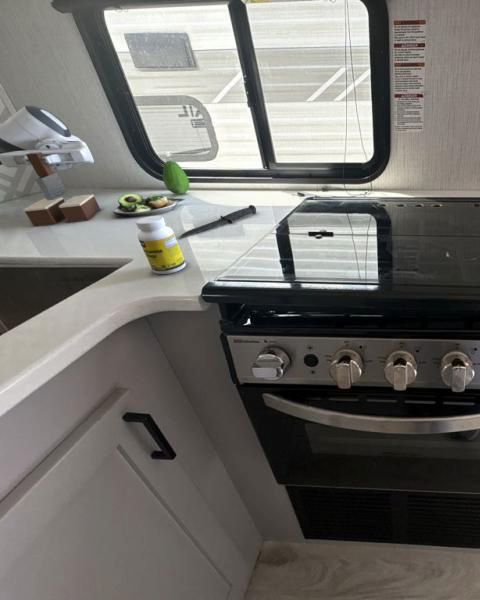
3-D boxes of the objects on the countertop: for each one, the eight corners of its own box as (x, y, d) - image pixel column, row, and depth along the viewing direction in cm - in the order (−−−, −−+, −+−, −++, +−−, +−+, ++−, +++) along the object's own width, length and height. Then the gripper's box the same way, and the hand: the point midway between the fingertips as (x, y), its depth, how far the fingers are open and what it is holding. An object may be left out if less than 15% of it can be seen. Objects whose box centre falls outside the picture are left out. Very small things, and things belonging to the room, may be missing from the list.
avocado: (185, 196, 122) (173, 162, 116) (164, 196, 123) (151, 162, 116) (197, 191, 129) (186, 158, 123) (177, 191, 129) (165, 158, 123)
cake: (88, 220, 101) (79, 203, 98) (33, 226, 96) (23, 209, 94) (100, 209, 110) (93, 194, 107) (51, 214, 106) (42, 199, 103)
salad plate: (189, 198, 120) (184, 185, 118) (183, 212, 106) (178, 197, 104) (126, 205, 114) (119, 191, 111) (111, 220, 100) (103, 205, 97)
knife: (250, 209, 105) (251, 202, 103) (260, 218, 104) (261, 212, 102) (170, 231, 88) (169, 224, 86) (180, 243, 87) (180, 236, 85)
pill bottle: (146, 274, 70) (122, 223, 64) (169, 261, 75) (149, 213, 69) (171, 276, 68) (149, 225, 63) (193, 263, 74) (174, 215, 68)
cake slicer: (55, 199, 96) (30, 155, 90) (45, 200, 95) (19, 156, 89) (69, 191, 104) (46, 150, 98) (59, 192, 103) (36, 151, 97)
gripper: (7, 145, 99) (-20, 151, 89) (90, 141, 106) (74, 146, 95) (20, 167, 103) (-5, 176, 92) (100, 162, 109) (85, 169, 99)
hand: (36, 161), depth 94 cm, fingers closed on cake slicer, 2 cm apart
